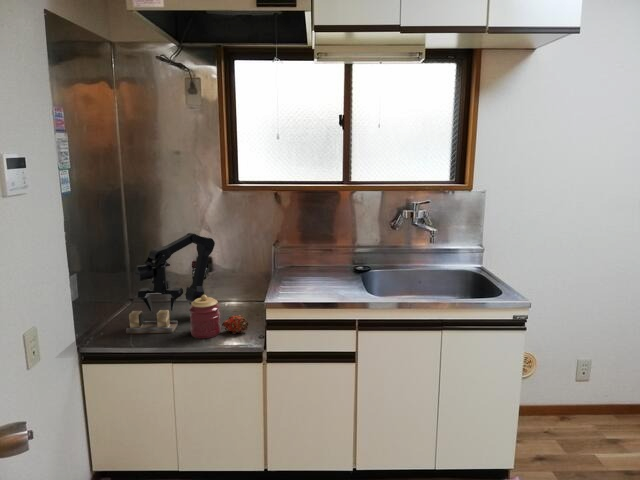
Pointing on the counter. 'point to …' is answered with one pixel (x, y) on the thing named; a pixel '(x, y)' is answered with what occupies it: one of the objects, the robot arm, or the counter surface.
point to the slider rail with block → (147, 325)
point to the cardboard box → (162, 318)
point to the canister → (205, 317)
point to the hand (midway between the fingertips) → (161, 310)
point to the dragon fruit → (236, 324)
